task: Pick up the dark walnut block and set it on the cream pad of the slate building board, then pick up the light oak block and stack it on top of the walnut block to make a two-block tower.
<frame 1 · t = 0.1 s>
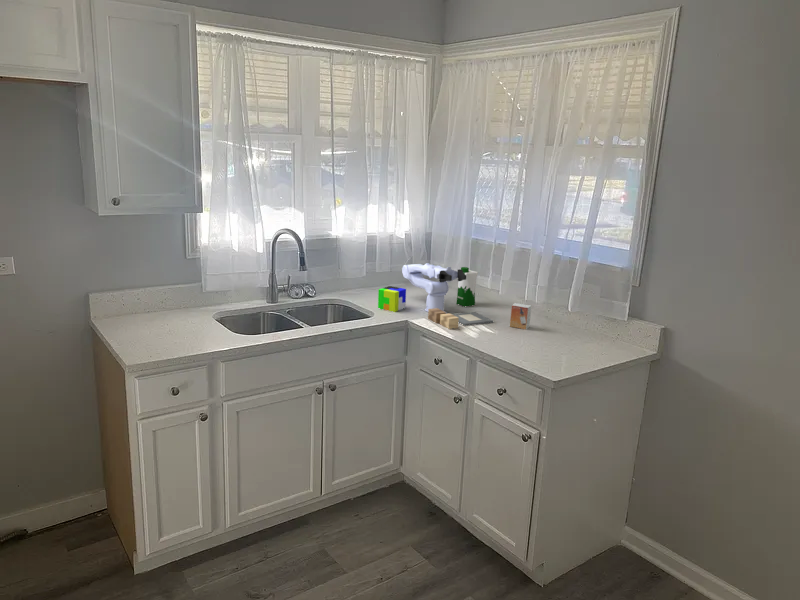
hand: (458, 277, 282), 22 cm above the worktop, tool horizontal, fingers open, 7 cm apart
milk carton: (465, 305, 320), on the worktop
oak block: (448, 326, 281), on the worktop
puzzle toy: (391, 308, 308), on the worktop
building board: (469, 319, 293), on the worktop
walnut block: (436, 320, 289), on the worktop
small box: (519, 327, 284), on the worktop
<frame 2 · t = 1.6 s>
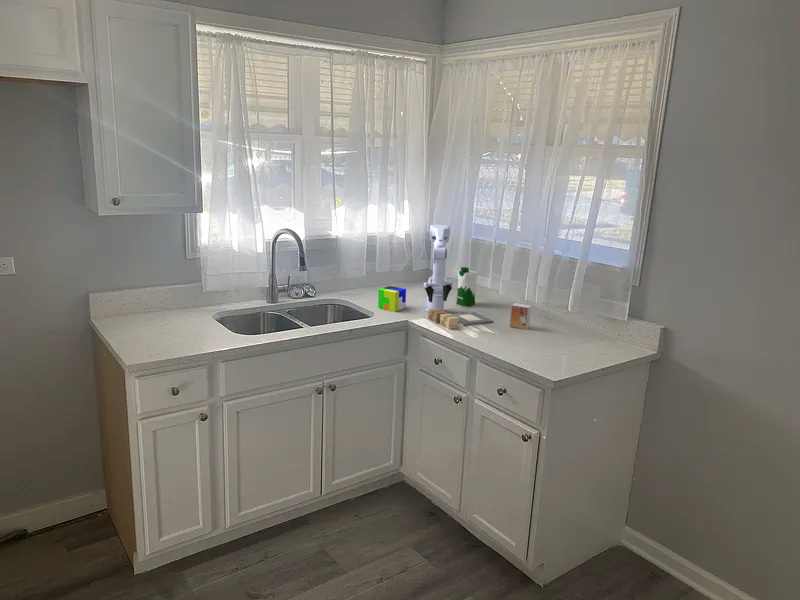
hand: (437, 301, 287), 9 cm above the worktop, tool pointing down, fingers open, 7 cm apart
nothing on the worktop moved.
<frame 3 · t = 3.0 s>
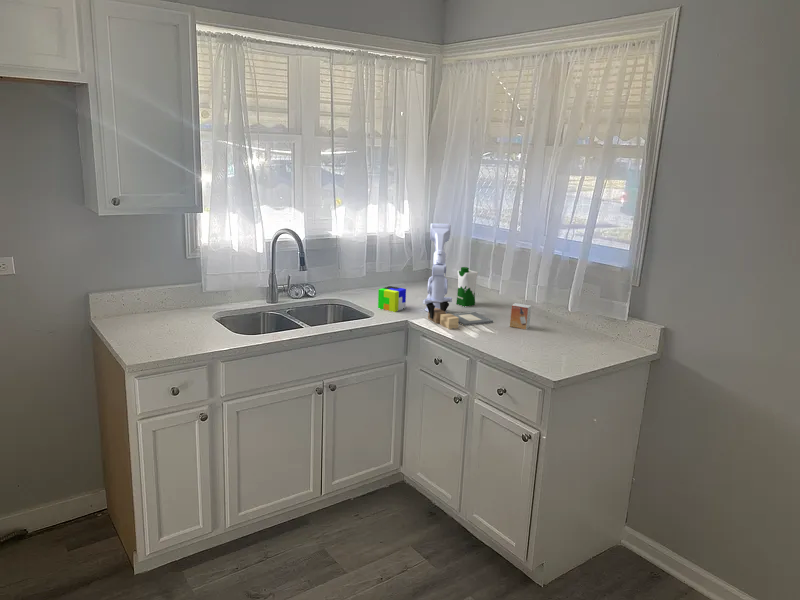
hand: (436, 317, 289), 1 cm above the worktop, tool pointing down, fingers closed on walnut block, 5 cm apart
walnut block: (436, 320, 289), on the worktop, touching gripper
everything else where it was.
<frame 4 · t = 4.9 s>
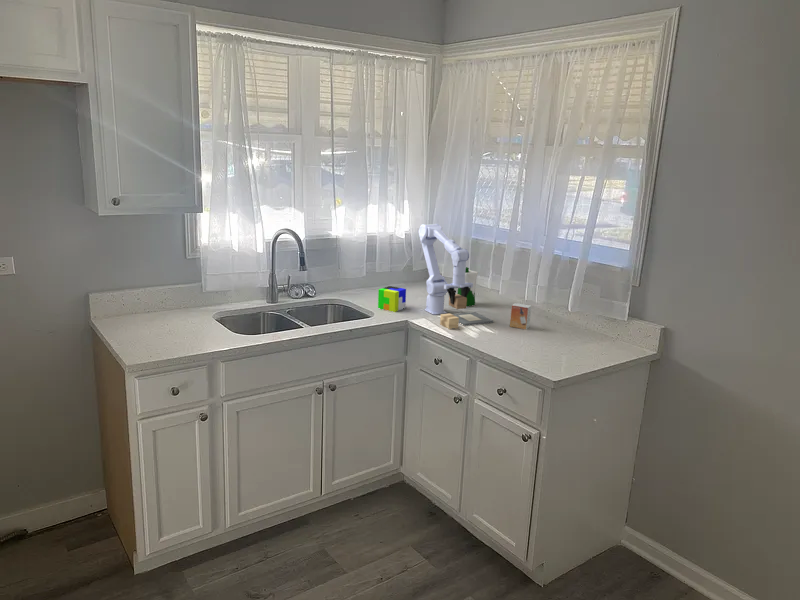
hand: (457, 302, 289), 8 cm above the worktop, tool pointing down, fingers closed on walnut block, 5 cm apart
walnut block: (457, 306, 289), point 7 cm above the worktop, touching gripper
everything else where it was.
when the fingers open (3 cm above the worktop, at t = 6.8 s): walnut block stays where it is, resting on building board.
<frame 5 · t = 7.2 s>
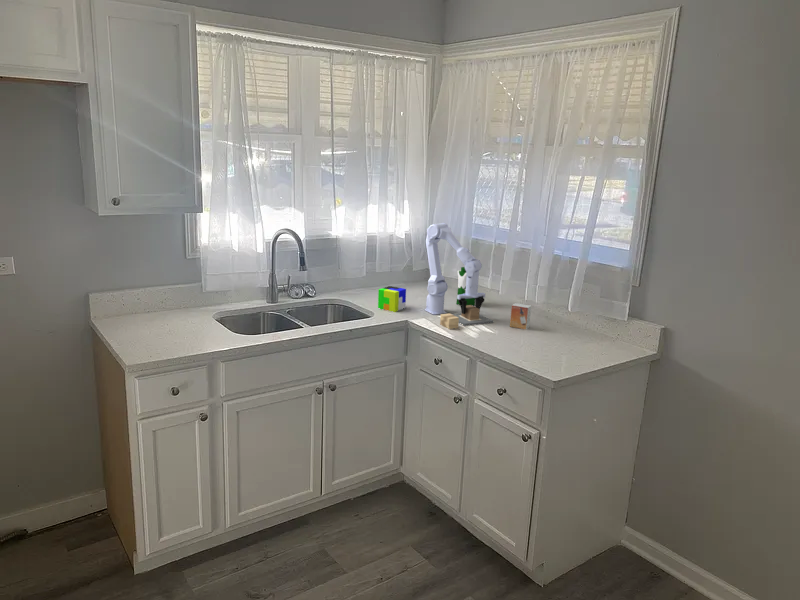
hand: (470, 312, 292), 3 cm above the worktop, tool pointing down, fingers open, 7 cm apart
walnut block: (470, 317, 292), point 1 cm above the worktop, touching building board
everything else where it was.
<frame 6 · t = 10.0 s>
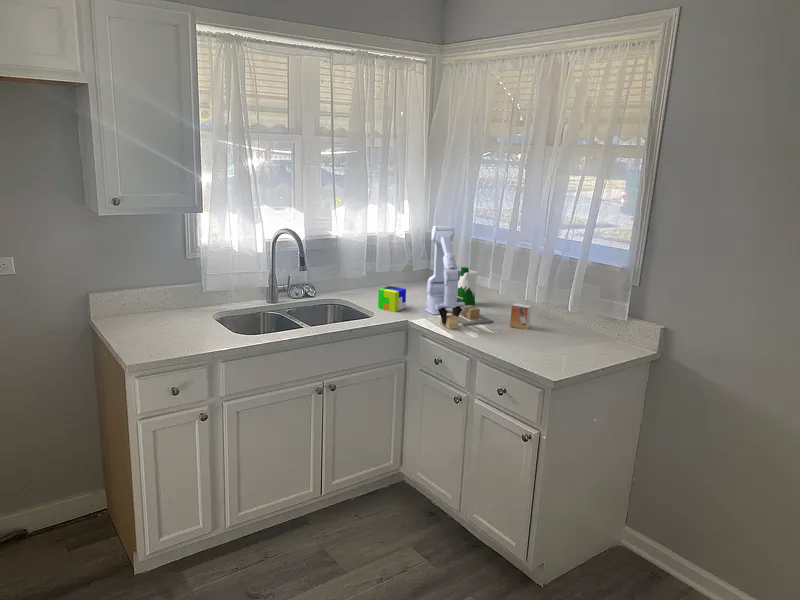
hand: (449, 323, 281), 1 cm above the worktop, tool pointing down, fingers closed on oak block, 5 cm apart
oak block: (449, 326, 281), on the worktop, touching gripper
everything else where it was.
when the fingers open (8 cm above the worktop, at t = 13.8 s): oak block stays where it is, resting on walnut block.
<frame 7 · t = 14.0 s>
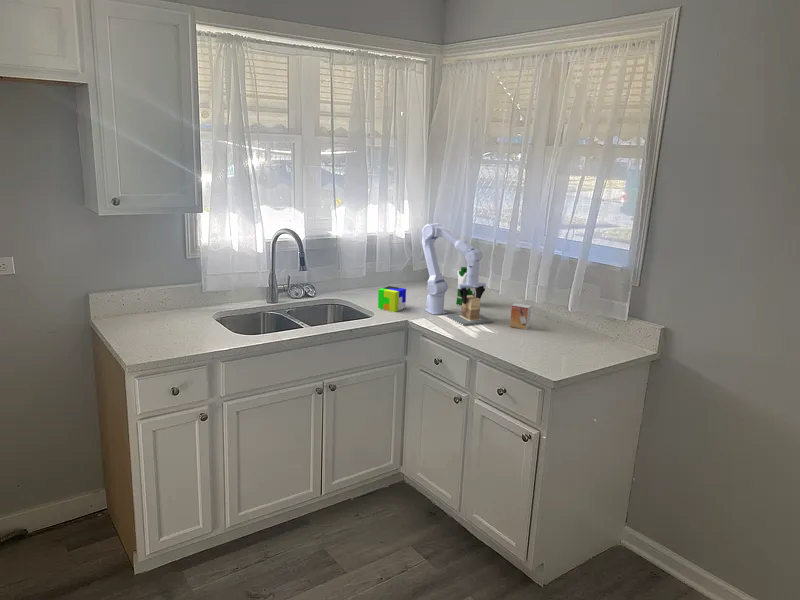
hand: (470, 302, 291), 8 cm above the worktop, tool pointing down, fingers open, 7 cm apart
oak block: (470, 307, 291), point 6 cm above the worktop, touching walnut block
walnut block: (470, 317, 292), point 1 cm above the worktop, touching building board, oak block
everything else where it was.
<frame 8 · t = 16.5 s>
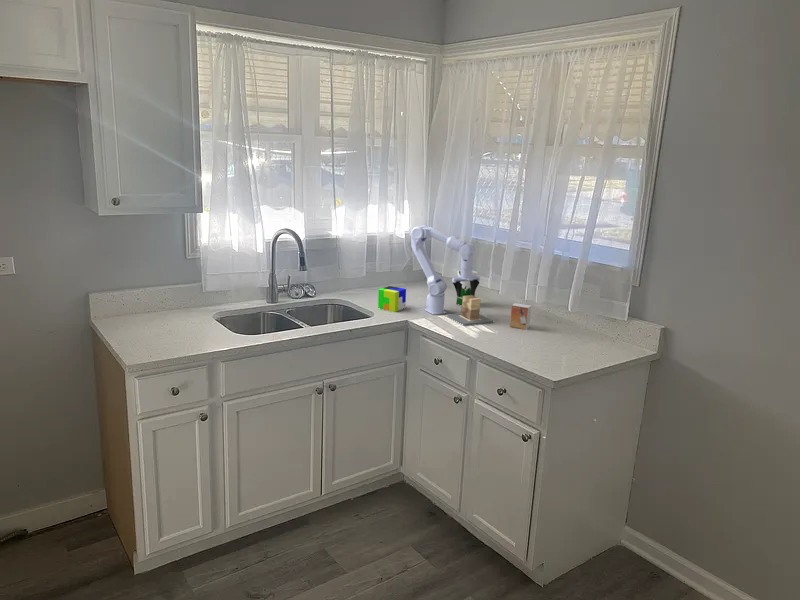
hand: (465, 295, 295), 10 cm above the worktop, tool pointing down, fingers open, 7 cm apart
nothing on the worktop moved.
at the end: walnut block 0.1 cm off-centre on the building board, point 1.1 cm above the building board's base; oak block 0.1 cm off-centre on the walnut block, point 5.0 cm above the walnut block's base; oak block tilted 0° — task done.
